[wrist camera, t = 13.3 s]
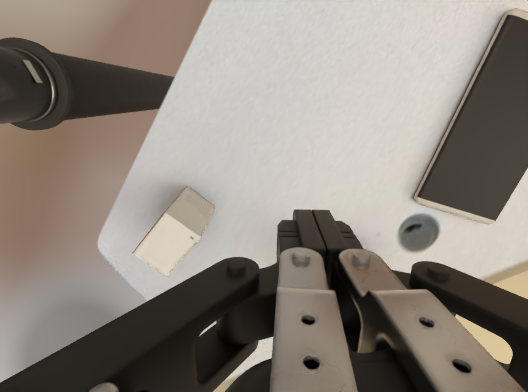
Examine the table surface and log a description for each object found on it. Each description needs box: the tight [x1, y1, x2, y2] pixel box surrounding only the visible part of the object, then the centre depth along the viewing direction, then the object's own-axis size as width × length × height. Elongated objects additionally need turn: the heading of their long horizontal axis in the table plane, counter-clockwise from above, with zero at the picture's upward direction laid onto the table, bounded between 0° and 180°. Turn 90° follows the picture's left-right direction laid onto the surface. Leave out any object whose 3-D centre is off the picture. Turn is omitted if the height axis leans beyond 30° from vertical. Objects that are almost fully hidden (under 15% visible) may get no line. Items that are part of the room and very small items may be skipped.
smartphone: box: [414, 8, 528, 224], centre depth 42 cm, size 13×27×2 cm, turn 163°
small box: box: [133, 187, 215, 277], centre depth 42 cm, size 8×6×10 cm
